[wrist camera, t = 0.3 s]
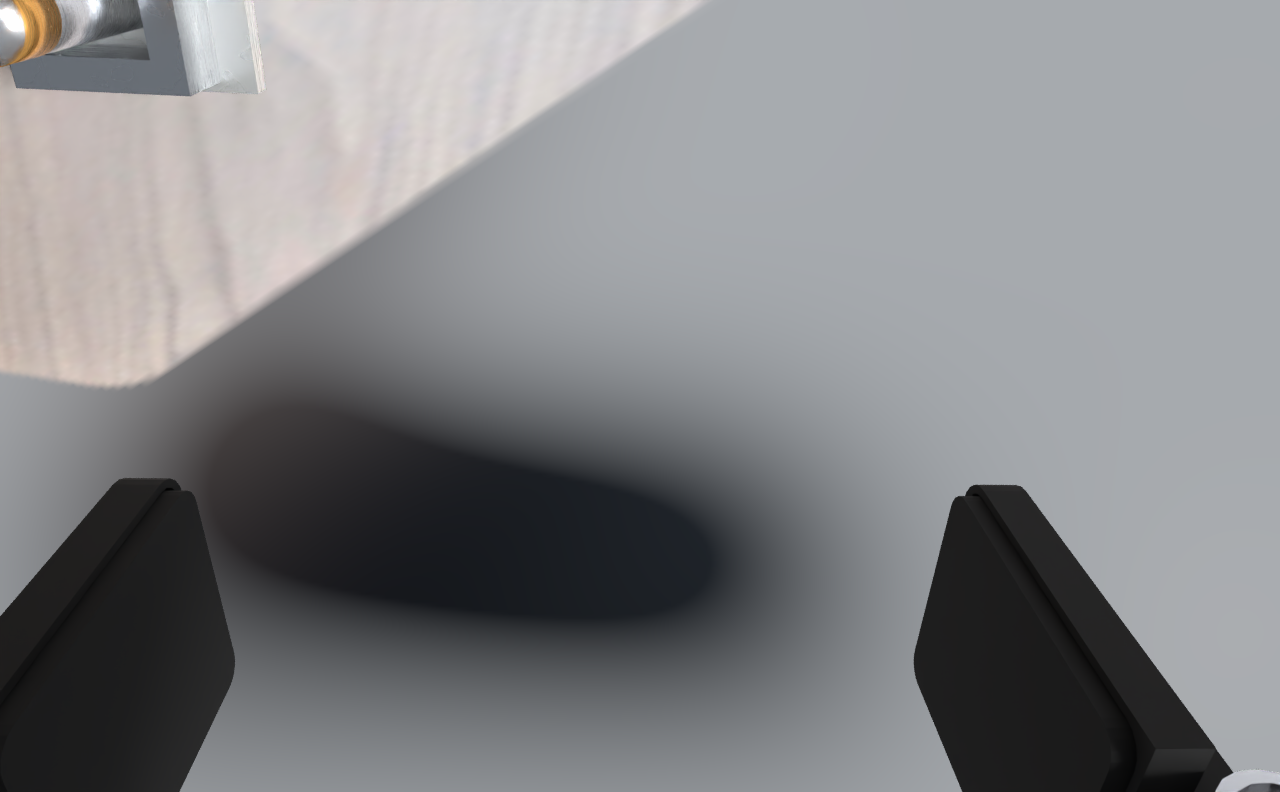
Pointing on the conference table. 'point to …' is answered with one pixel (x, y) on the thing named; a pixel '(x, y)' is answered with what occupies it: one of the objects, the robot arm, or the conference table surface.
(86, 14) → the pin
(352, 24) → the conference table surface
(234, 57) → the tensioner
